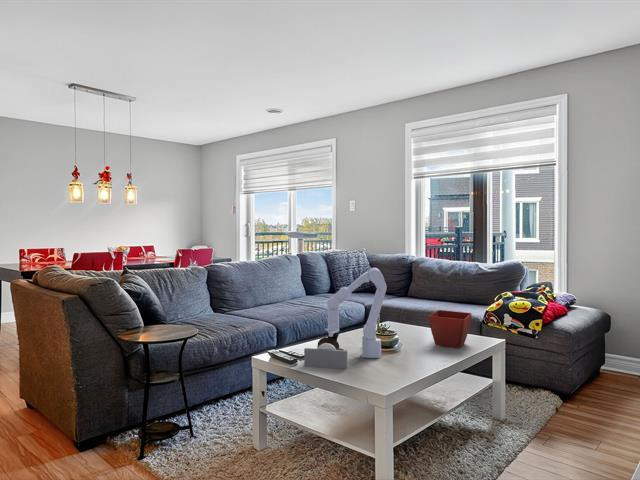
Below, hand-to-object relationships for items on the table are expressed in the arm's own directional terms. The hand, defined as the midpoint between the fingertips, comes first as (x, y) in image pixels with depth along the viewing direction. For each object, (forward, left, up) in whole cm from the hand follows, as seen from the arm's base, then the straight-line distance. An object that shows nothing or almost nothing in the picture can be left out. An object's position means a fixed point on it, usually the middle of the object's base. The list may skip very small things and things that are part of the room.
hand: (333, 347), depth 235 cm
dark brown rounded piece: (0, +8, -4) cm, 9 cm away
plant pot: (-59, -32, -4) cm, 67 cm away
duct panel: (0, +20, -4) cm, 20 cm away
